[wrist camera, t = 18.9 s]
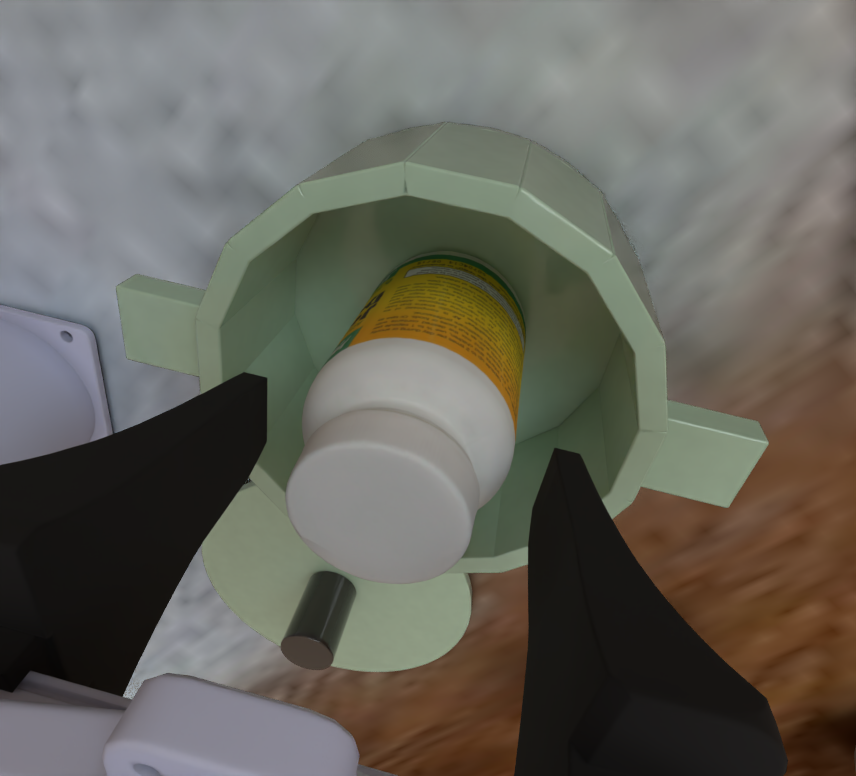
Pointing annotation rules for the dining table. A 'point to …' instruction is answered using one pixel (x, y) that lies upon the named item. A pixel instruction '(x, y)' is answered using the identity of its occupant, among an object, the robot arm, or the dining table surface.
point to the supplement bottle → (411, 421)
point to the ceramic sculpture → (855, 757)
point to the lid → (326, 597)
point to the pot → (495, 245)
